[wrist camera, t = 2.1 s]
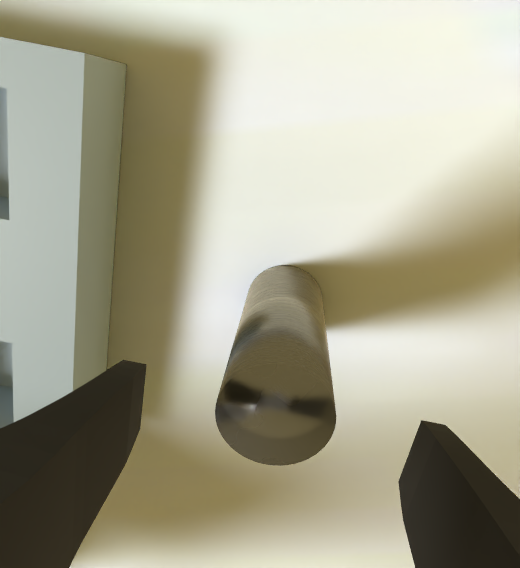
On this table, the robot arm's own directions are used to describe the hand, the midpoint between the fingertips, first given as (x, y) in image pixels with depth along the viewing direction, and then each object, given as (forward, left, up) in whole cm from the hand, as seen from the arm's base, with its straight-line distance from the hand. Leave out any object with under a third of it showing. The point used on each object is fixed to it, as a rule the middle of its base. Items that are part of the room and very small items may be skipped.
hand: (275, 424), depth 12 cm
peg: (0, 0, -8) cm, 8 cm away
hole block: (0, +12, -8) cm, 15 cm away
